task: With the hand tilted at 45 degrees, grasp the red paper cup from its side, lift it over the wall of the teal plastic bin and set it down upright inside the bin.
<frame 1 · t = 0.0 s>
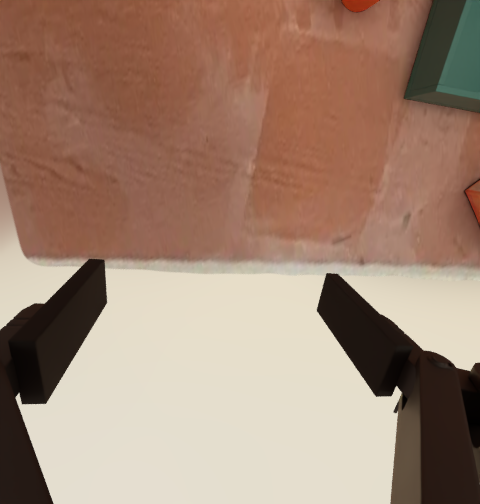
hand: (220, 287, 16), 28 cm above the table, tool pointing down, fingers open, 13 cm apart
bin: (469, 46, 38), on the table
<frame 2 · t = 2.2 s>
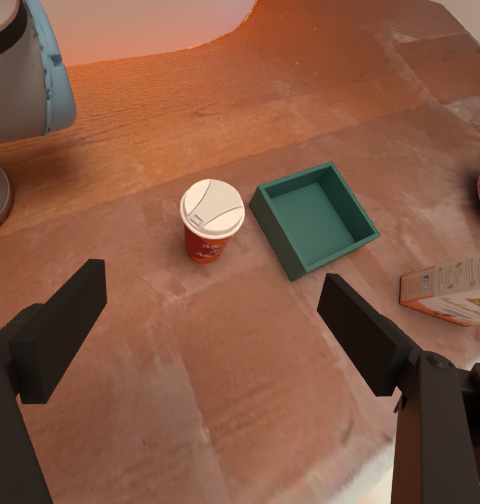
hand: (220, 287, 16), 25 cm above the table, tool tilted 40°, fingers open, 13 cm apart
cracker box: (431, 302, 49), on the table
bin: (304, 226, 49), on the table
paper cup: (204, 247, 44), on the table
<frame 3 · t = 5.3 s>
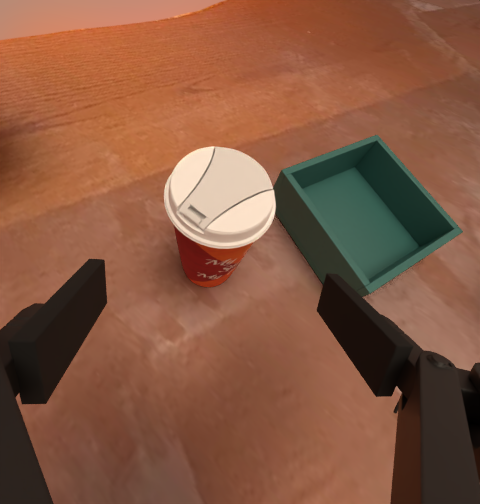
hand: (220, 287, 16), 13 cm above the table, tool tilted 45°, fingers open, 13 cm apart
bin: (345, 227, 35), on the table
paper cup: (208, 263, 30), on the table
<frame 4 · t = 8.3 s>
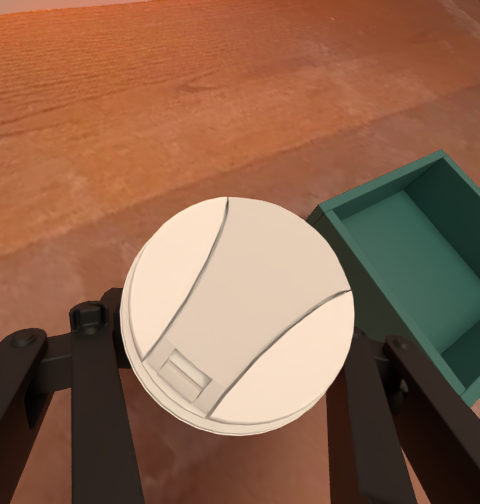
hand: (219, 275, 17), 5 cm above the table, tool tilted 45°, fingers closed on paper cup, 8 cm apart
bin: (397, 274, 26), on the table
paper cup: (210, 338, 21), on the table, touching gripper
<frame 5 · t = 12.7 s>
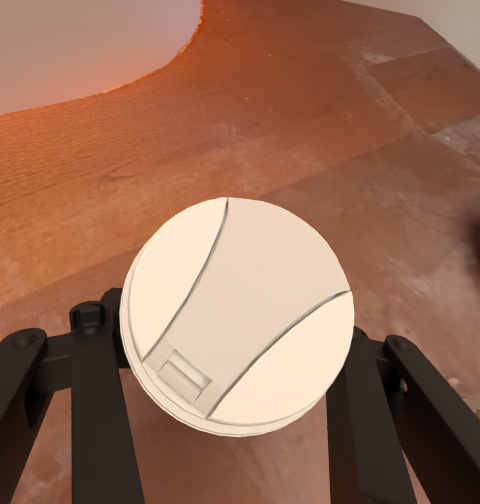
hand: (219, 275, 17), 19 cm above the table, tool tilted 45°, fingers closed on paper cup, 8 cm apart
paper cup: (210, 338, 21), point 14 cm above the table, touching gripper
when the fingers open (6 cm above the table, at t = 17.6 s): paper cup stays where it is, resting on bin.
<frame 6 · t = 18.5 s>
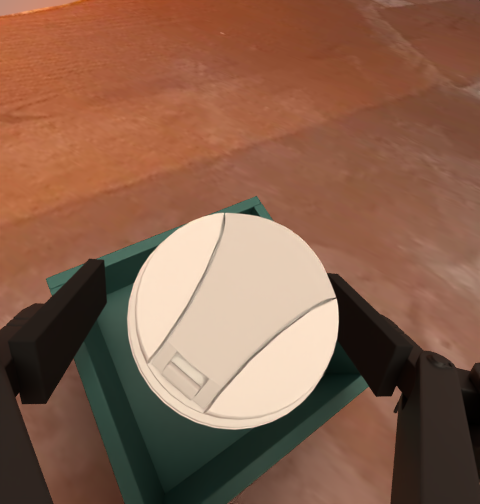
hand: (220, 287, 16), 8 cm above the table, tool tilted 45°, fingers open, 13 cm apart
bin: (210, 340, 22), on the table
paper cup: (211, 340, 22), point 1 cm above the table, touching bin
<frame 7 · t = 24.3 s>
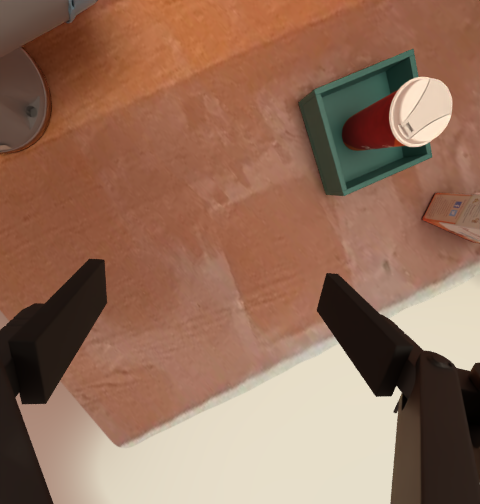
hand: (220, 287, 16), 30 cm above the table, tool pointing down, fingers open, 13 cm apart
cracker box: (453, 219, 53), on the table
bin: (354, 133, 45), on the table
paper cup: (356, 132, 44), point 1 cm above the table, touching bin
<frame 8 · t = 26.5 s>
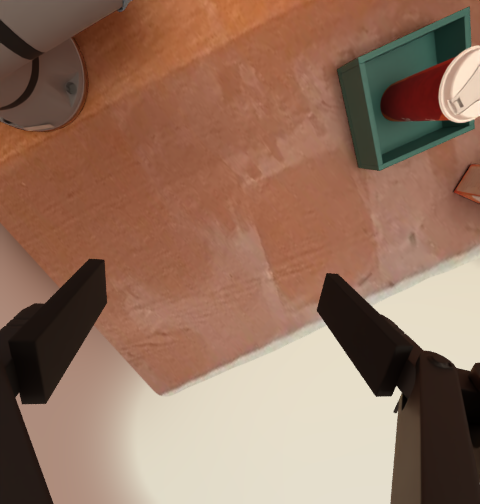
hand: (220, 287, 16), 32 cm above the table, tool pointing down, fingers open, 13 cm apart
bin: (392, 101, 43), on the table
paper cup: (396, 101, 43), point 1 cm above the table, touching bin
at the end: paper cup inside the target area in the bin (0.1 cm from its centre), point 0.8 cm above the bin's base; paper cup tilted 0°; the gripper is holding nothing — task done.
